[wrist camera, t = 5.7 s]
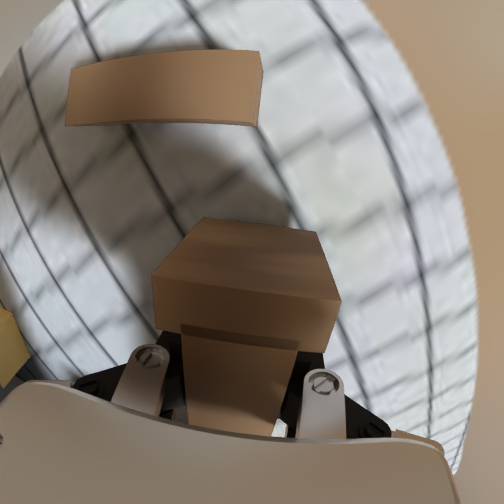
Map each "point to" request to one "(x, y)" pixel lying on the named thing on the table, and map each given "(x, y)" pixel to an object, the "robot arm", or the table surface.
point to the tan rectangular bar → (168, 89)
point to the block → (10, 348)
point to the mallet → (244, 317)
